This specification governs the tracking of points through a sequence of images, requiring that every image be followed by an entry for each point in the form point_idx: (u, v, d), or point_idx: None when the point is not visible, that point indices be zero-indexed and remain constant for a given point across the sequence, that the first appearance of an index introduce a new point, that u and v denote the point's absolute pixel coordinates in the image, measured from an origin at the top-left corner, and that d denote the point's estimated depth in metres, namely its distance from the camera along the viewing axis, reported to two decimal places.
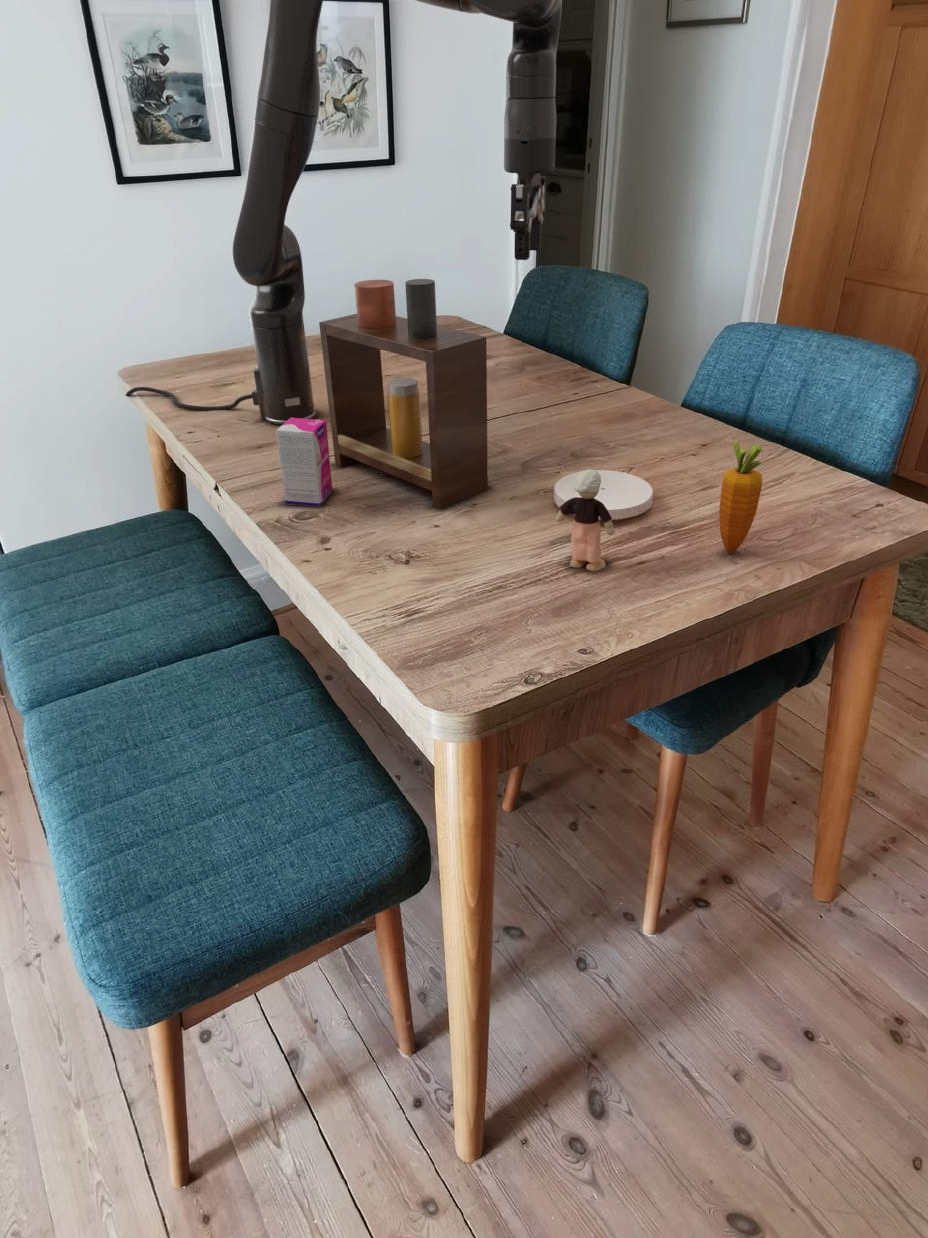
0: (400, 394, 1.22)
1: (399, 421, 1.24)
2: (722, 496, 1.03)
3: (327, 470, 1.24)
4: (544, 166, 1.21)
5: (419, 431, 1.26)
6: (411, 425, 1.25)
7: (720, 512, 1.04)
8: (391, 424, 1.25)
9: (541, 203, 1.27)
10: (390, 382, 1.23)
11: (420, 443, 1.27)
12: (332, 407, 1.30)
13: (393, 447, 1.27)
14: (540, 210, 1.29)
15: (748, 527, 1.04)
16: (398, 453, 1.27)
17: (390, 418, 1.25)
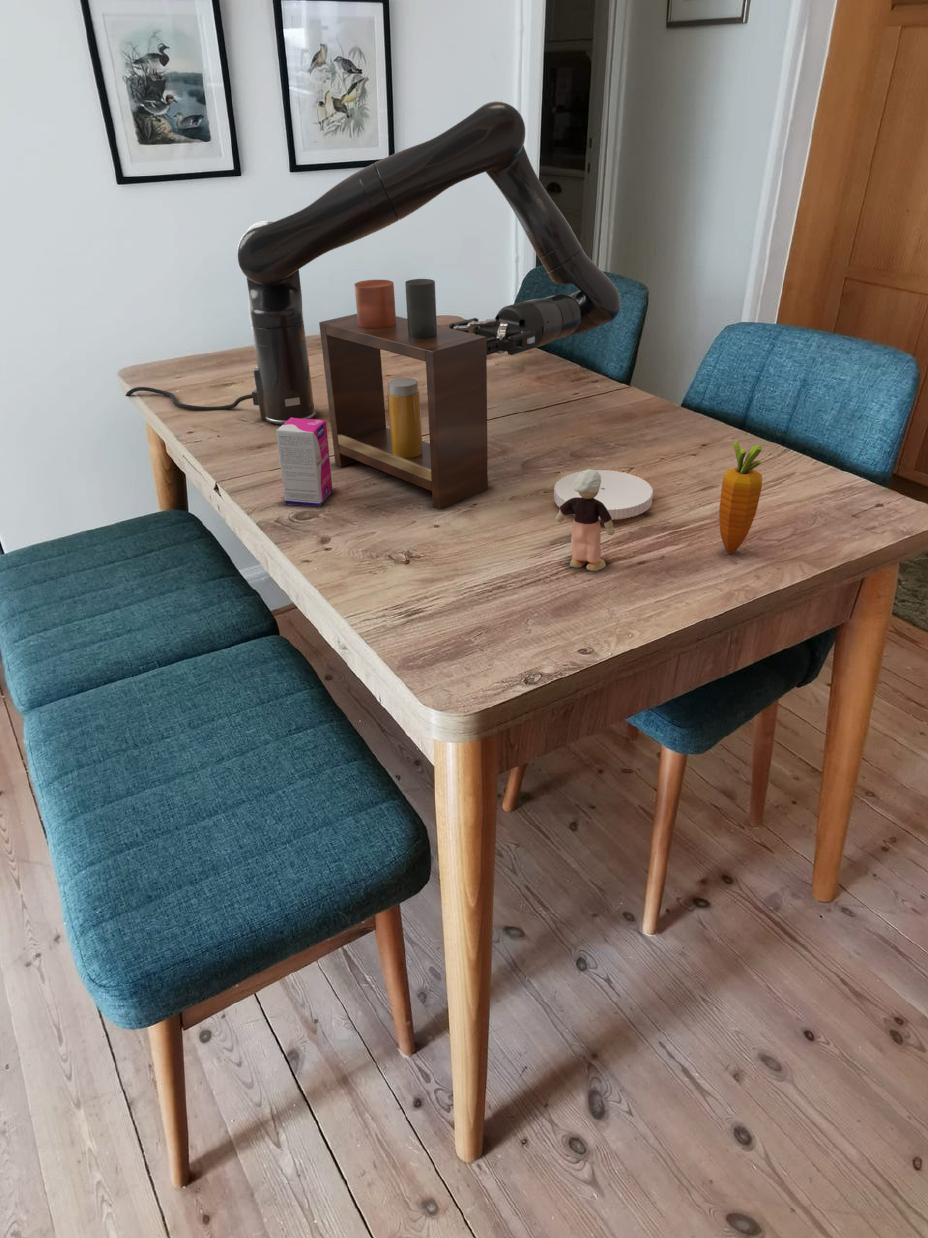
0: (400, 394, 1.22)
1: (399, 421, 1.24)
2: (722, 496, 1.03)
3: (327, 470, 1.24)
4: None
5: (419, 431, 1.26)
6: (411, 425, 1.25)
7: (720, 512, 1.04)
8: (391, 424, 1.25)
9: None
10: (390, 382, 1.23)
11: (420, 443, 1.27)
12: (332, 407, 1.30)
13: (393, 447, 1.27)
14: None
15: (748, 527, 1.04)
16: (398, 453, 1.27)
17: (390, 418, 1.25)
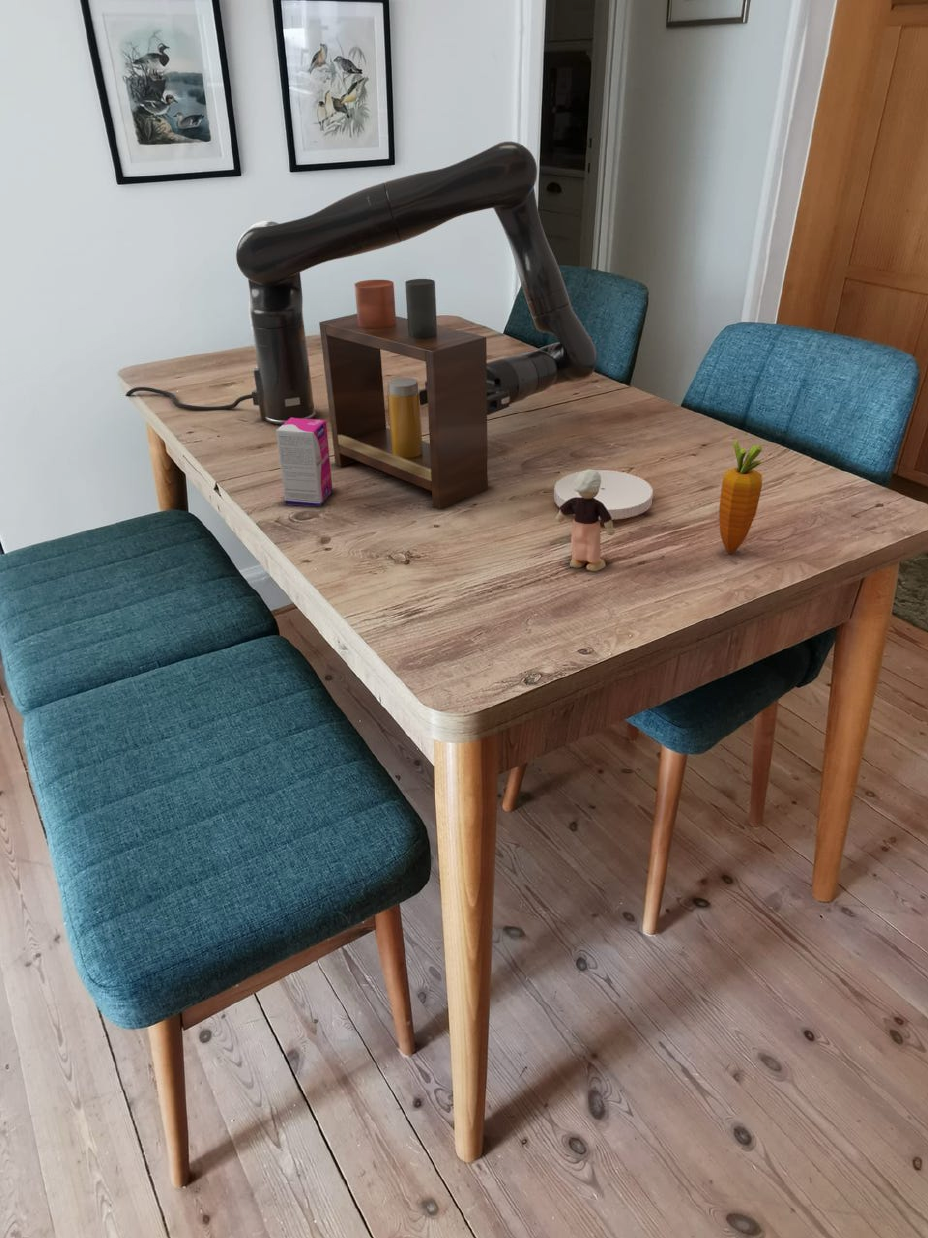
0: (400, 394, 1.22)
1: (399, 421, 1.24)
2: (722, 496, 1.03)
3: (327, 470, 1.24)
4: None
5: (419, 431, 1.26)
6: (411, 425, 1.25)
7: (720, 512, 1.04)
8: (391, 424, 1.25)
9: None
10: (390, 382, 1.23)
11: (420, 443, 1.27)
12: (332, 407, 1.30)
13: (393, 447, 1.27)
14: None
15: (748, 527, 1.04)
16: (398, 453, 1.27)
17: (390, 418, 1.25)
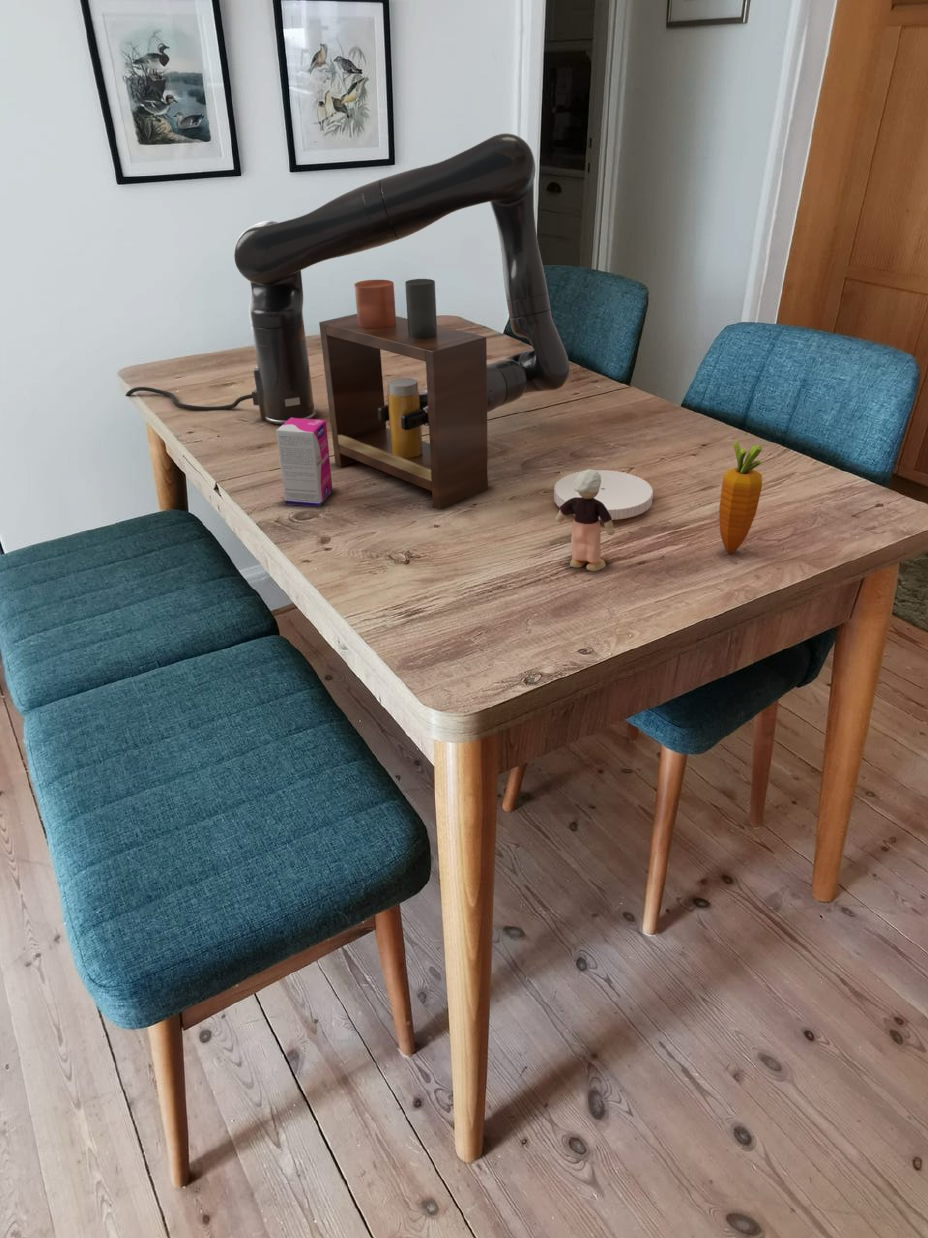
0: (400, 394, 1.22)
1: (399, 421, 1.24)
2: (722, 496, 1.03)
3: (327, 470, 1.24)
4: None
5: (419, 431, 1.26)
6: None
7: (720, 512, 1.04)
8: (391, 424, 1.25)
9: None
10: (390, 382, 1.23)
11: (420, 443, 1.27)
12: (332, 407, 1.30)
13: (393, 447, 1.27)
14: None
15: (748, 527, 1.04)
16: (398, 453, 1.27)
17: (390, 418, 1.25)
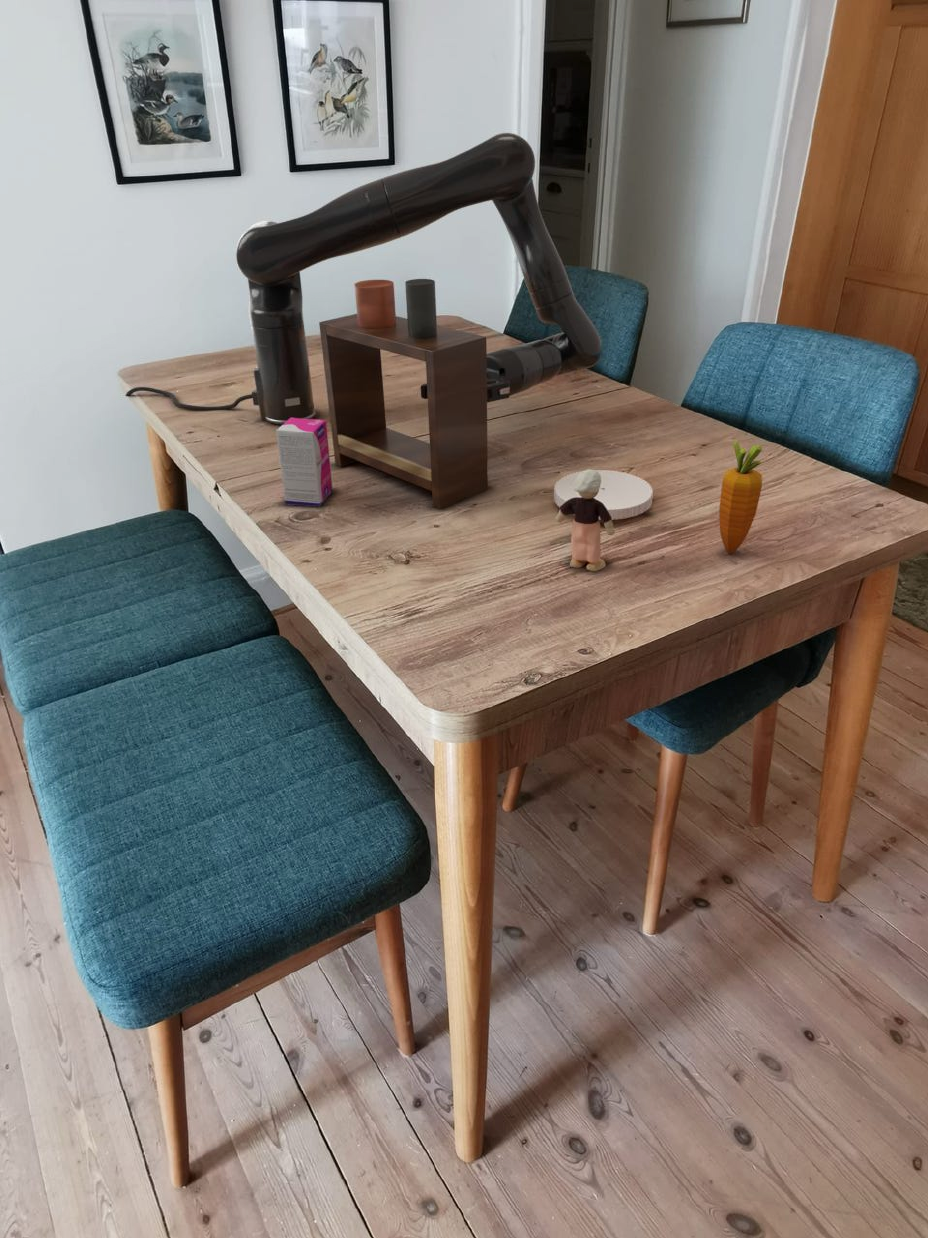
0: None
1: None
2: (722, 496, 1.03)
3: (327, 470, 1.24)
4: None
5: None
6: None
7: (720, 512, 1.04)
8: None
9: None
10: None
11: None
12: (332, 407, 1.30)
13: None
14: None
15: (748, 527, 1.04)
16: None
17: None
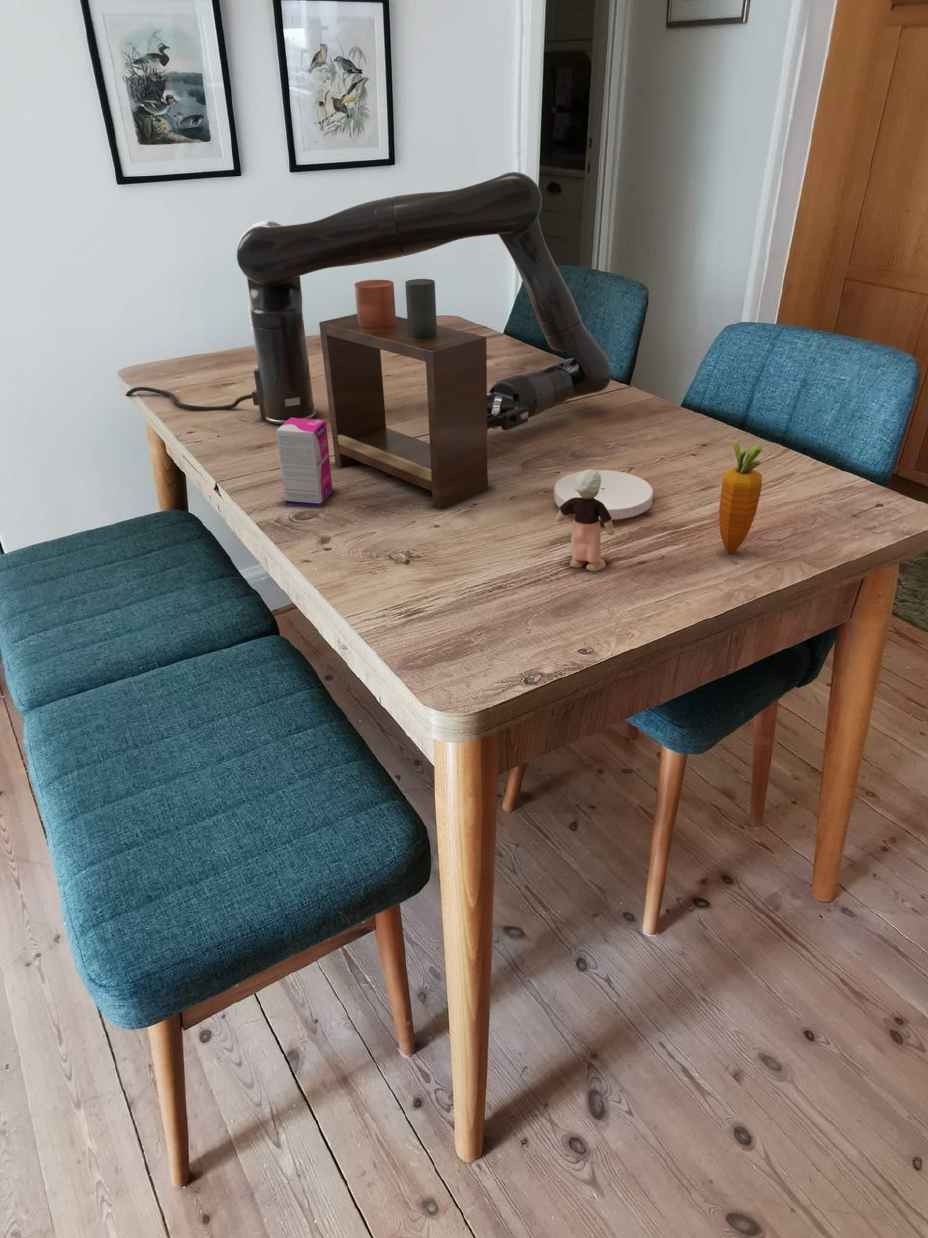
0: None
1: None
2: (722, 496, 1.03)
3: (327, 470, 1.24)
4: None
5: None
6: None
7: (720, 512, 1.04)
8: None
9: None
10: None
11: None
12: (332, 407, 1.30)
13: None
14: None
15: (748, 527, 1.04)
16: None
17: None
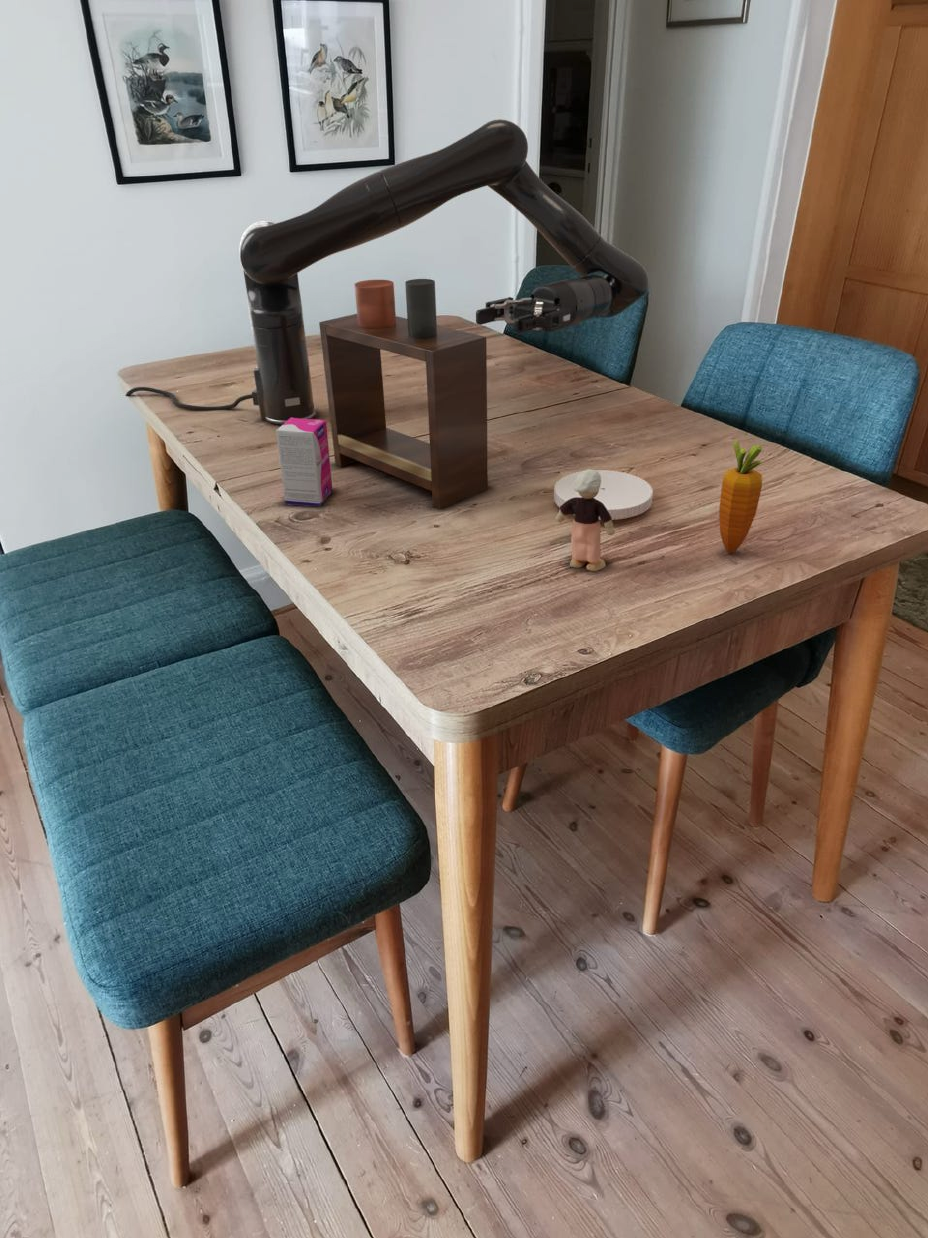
0: None
1: None
2: (722, 496, 1.03)
3: (327, 470, 1.24)
4: (558, 327, 1.39)
5: None
6: None
7: (720, 512, 1.04)
8: None
9: None
10: None
11: None
12: (332, 407, 1.30)
13: None
14: (508, 320, 1.38)
15: (748, 527, 1.04)
16: None
17: None
